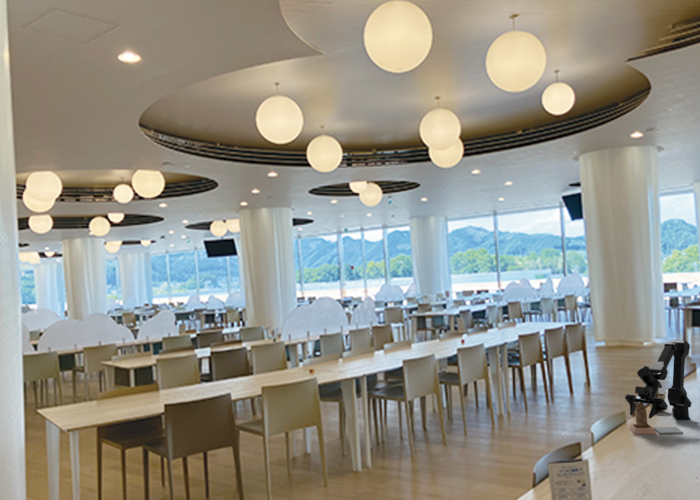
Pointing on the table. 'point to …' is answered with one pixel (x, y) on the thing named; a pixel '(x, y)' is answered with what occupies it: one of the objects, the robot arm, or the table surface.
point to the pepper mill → (641, 415)
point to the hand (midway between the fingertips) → (639, 416)
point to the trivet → (668, 430)
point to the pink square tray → (642, 429)
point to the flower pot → (659, 397)
